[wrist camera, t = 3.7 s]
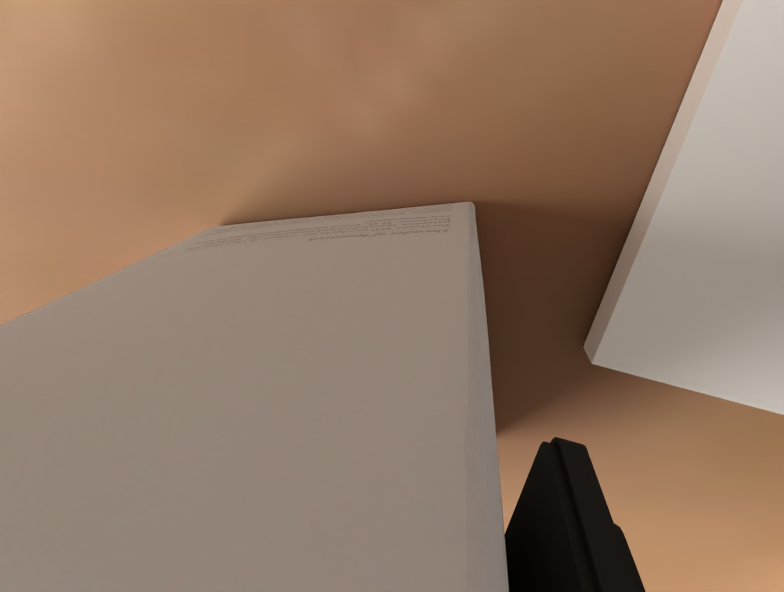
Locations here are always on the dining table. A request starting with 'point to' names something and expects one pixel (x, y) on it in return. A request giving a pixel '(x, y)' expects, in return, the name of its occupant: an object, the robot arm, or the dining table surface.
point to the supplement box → (260, 416)
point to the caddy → (711, 229)
